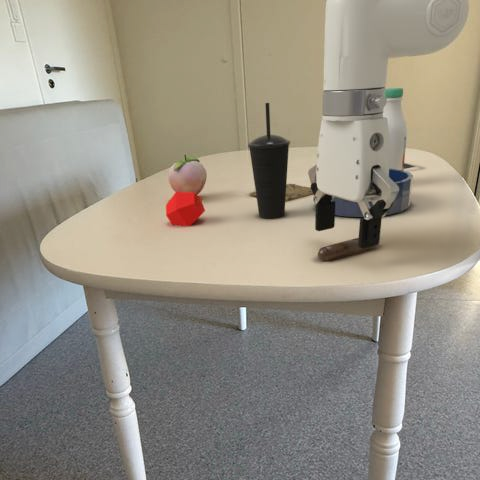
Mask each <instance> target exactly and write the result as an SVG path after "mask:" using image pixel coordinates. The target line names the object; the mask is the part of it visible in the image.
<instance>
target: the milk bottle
mask: <svg viewBox="0 0 480 480" xmlns="http://www.w3.org/2000/svg"><path fill="white" fill-rule="evenodd" d="M403 96H404V88H402V87H393V88H392V87H391V88H385V97H386V99H387V102H386V105H385V106H384V111H383V117H386V118H387V121H388V129H389V146H390V157H389V168H392V169H398V170H404V171H405V169H404V163H405V157H406V147H407V134H408V133H407V131H408V129H407V123H406V120H405V117H404V114H403V110H402V109H403V108H402V100H403Z"/></svg>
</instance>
